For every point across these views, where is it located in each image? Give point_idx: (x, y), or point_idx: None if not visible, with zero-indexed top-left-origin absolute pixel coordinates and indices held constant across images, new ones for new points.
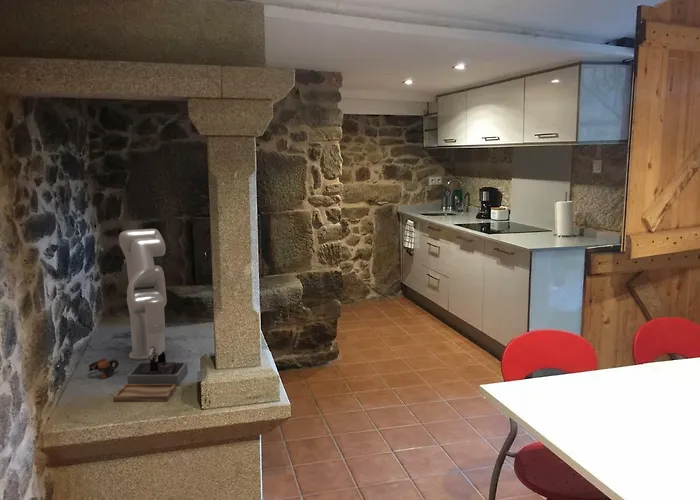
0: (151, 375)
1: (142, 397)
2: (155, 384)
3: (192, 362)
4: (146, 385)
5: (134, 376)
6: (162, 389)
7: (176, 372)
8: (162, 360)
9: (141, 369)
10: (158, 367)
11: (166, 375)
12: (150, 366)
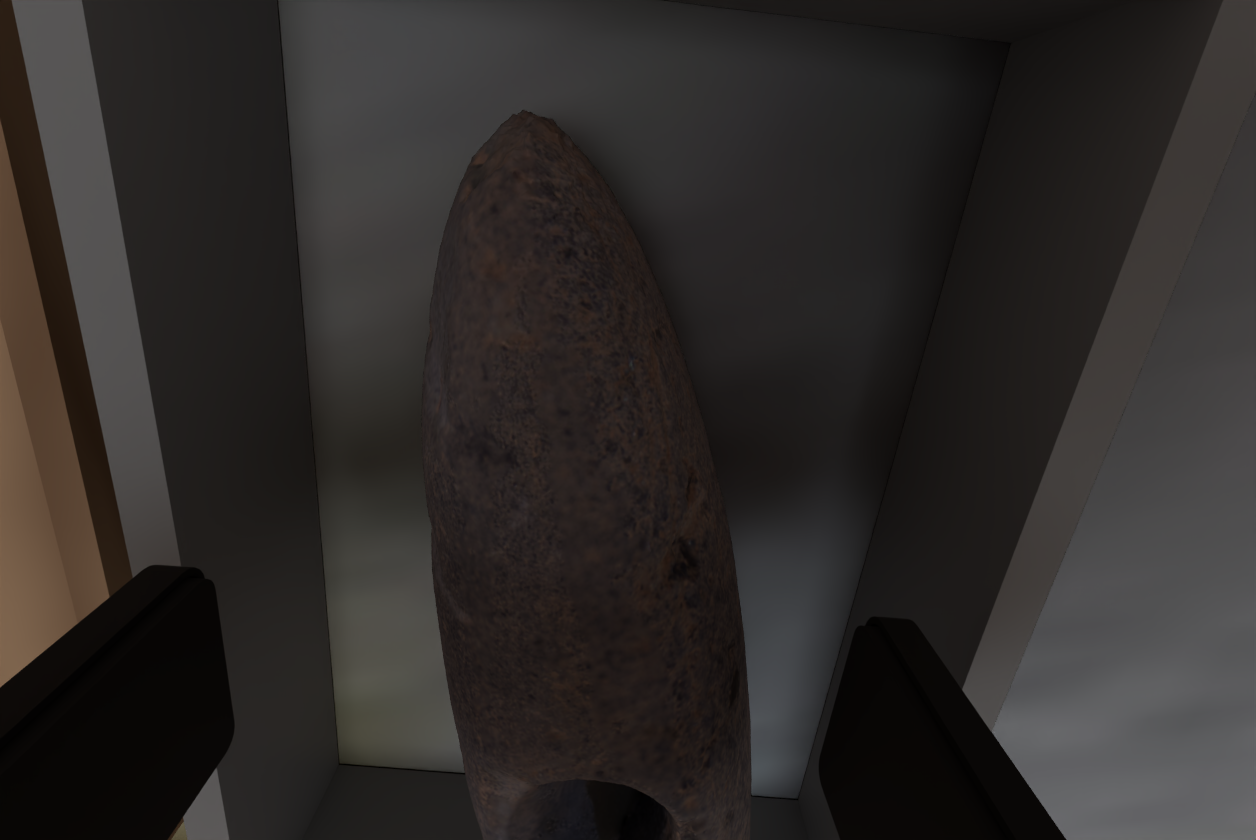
0: (130, 547)
1: None
2: (75, 573)
3: (1202, 831)
4: (40, 403)
5: (51, 45)
6: (24, 666)
7: (826, 701)
8: (856, 781)
9: (1067, 30)
10: (453, 700)
11: (185, 821)
12: (33, 675)
